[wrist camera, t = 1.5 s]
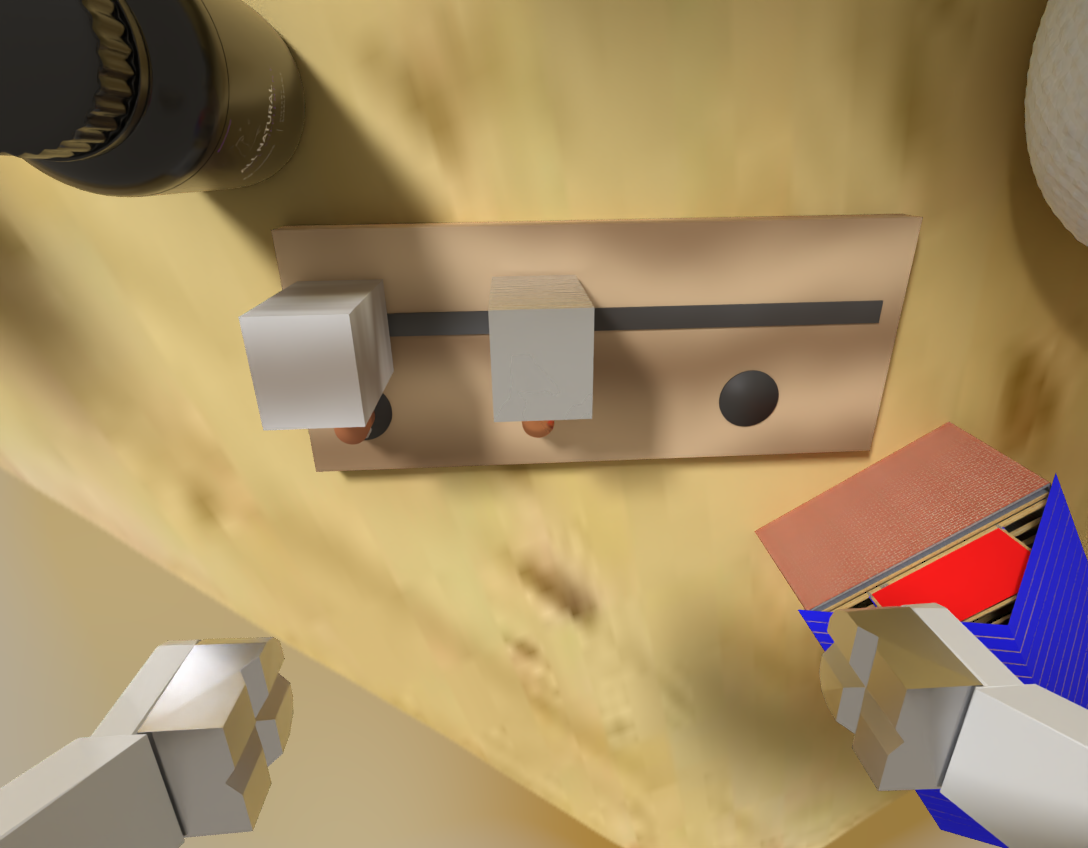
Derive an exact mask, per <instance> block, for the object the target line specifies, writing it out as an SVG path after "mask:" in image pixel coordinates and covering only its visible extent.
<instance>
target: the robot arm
mask: <svg viewBox="0 0 1088 848" xmlns="http://www.w3.org/2000/svg"><path fill="white" fill-rule="evenodd" d="M827 632H828V633H829V635H830V636H831V638H832V639H833V641H834V643H833V644H832V645H831V646H830V647H829V648H828V649H827V650H826V651H825V652H824V653H823V654H822V658H821V664H820V670H819V675H820V682H821V689H822V693H823V696H824V699H825V701H826V704H827V706H828V708H829V710H830V712H831V713H832V715H833V717H834V719H835V720H836V721H837V722H838V723H840V724H841V725H843V726H844V727H845V728H847V729H848V730H850V731H851V732H853V733H854V739H853V745H852V749H853V750H854V752H855V753H856V755H857V757H858V758H859V760H860V762H861V763H862V765H863V767H864V768H865V770H866V772H867V773H868V775H869V776H870V778H871V780H872V781H873V783H874V785H875V786H876V788H877V790H878V791H890V790H919V789H941V790H940V793H942V794H943V795H944V796H945V797H947V798H948V799H949V800H950V801H952V802H953V803H954V804H955V805H957V806H958V807H959V808H960V809H962V810H963V811H964V812H965V813H967V814H968V815H969V816H970V817H972V818H973V819H974V820H975V821H976V822H978V823H979V824H980V825H981V826H983V827H984V828H985V829H986V830H988V831H989V832H990V833H991V834H993V835H994V836H995V837H996V838H998V839H999V840H1000V841H1001V842H1003V843H1004V844H1005V845H1006V846H1008V847H1009V848H1088V710H1087V709H1085V708H1083V707H1081V706H1079V705H1077V704H1075V703H1073V702H1071V701H1069V700H1067V699H1065V698H1063V697H1061V696H1059V695H1057V694H1055V693H1053V692H1051V691H1049V690H1047V689H1044V688H1042V687H1040V686H1038V685H1036V684H1023V683H1022V682H1021V681H1020V680H1019V679H1018V678H1017V677H1016V676H1015V675H1014V674H1013V673H1012V672H1011V671H1010V670H1009V669H1008V668H1007V667H1006V666H1005V665H1004V664H1003V663H1002V662H1001V661H1000V660H999V659H998V658H997V657H996V656H995V655H994V654H993V653H992V652H991V651H990V650H989V649H988V648H987V647H986V646H985V645H984V644H983V643H982V642H980V641H979V640H978V639H977V638H976V637H975V636H974V635H973V634H972V633H971V632H970V631H969V630H968V629H967V628H966V627H965V626H964V625H963V624H962V623H961V622H960V621H959V620H958V619H957V618H956V617H955V616H954V615H953V614H952V613H951V612H950V611H949V610H948V609H947V608H945V607H944V606H941V605H939V604H937V603H924V604H910V605H902V606H889V607H871V608H853V609H836V610H835V611H834V613H833V614H832V615H831V617H830V620H829V624H828V628H827ZM284 659H285V658H284V655H283V651H282V647H281V643H280V641H279V640H278V639H276V638H274V637H261V638H223V639H203V640H173V641H166V642H165V643H163V644H161V645H159V646H158V647H157V648H156V649H155V650H154V652H153V653H152V654H151V656H150V657H149V658H148V660H147V661H146V662H145V664H144V665H143V666H142V668H141V669H140V670H139V672H138V673H137V674H136V676H135V677H134V679H133V680H132V681H131V682H130V684H129V685H128V687H127V688H126V689H125V691H124V692H123V693H122V695H121V696H120V697H119V699H118V700H117V701H116V703H115V704H114V705H113V707H112V708H111V709H110V711H109V712H108V713H107V715H106V716H105V718H104V719H103V720H102V722H101V723H100V724H99V726H98V727H97V728H96V730H95V731H94V732H93V734H92V735H91V736H90V737H85V738H77V739H75V740H74V741H73V742H71V743H69V744H68V745H66V746H64V747H63V748H61V749H60V750H58V751H57V752H55V753H54V754H52V755H51V756H49V757H48V758H46V759H44V760H43V761H41V762H40V763H38V764H37V765H35V766H34V767H32V768H31V769H29V770H27V771H26V772H24V773H23V774H21V775H20V776H18V777H17V778H15V779H14V780H12V781H10V782H9V783H8V784H6V785H4V786H3V787H1V788H0V848H179V847H180V846H181V845H182V844H183V843H184V838H185V837H196V836H206V835H216V834H228V833H238V832H248V831H253V829H254V827H255V824H256V822H257V819H258V816H259V814H260V811H261V809H262V806H263V804H264V801H265V799H266V796H267V794H268V791H269V788H270V786H271V779H270V775H269V771H268V766H269V765H270V764H272V762H274V761H275V760H276V759H277V758H278V757H279V756H280V755H281V754H283V752H284V749H285V746H286V744H287V741H288V738H289V735H290V730H291V724H292V718H293V694H292V690H291V685H290V682H288V681H287V680H286V679H285V678H284V677H283V676H281V675H280V674H279V670H280V668H281V666H282V663H283V661H284Z"/></svg>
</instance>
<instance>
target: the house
mask: <svg viewBox="0 0 1088 848" xmlns="http://www.w3.org/2000/svg"><path fill="white" fill-rule="evenodd" d="M986 528H987V530H985V531H983V532H981V533H979V532H980V531H982V530H984V529H986ZM755 532H756V534H757V535H758V537H759V539H760V540H761V542H762V543H763V545H764V546H765V548H766V549H767V551H768V553H769V554H770V556H771V557H772V559H773V560H774V562H775V563H776V565H777V567H778V568H779V570H780V571H781V573H782V574H783V576H784V577H785V579H786V581H787V582H788V584H789V585H790V587H791V588H792V590H793V591H794V593H795V595H796V596H797V598H798V599H799V601H800V602H801V604H802V605H803V607H804V609H805V610H798V611H799V612H800V614H801V615H802V617H803V618H804V620H805V621H806V623H807V625H808V626H809V628H810V629H811V631H812V632H813V634H814V635H815V637H816V638H817V640H818V641H819V643H820V645H821V646H822V648H823V649H824V651H826V650H827V649H828V648H829V647H830V646H831V645H832V644H833V643H834V641H833V639H832V638H831V636H830V635H829V633H828V632H827V628H828V624H829V620H830V617H831V615H832V614H833V613H834V611H835V610H836V609H849V608H851V607H853V606H854V605H856V604H858V603H860V602H862V601H864V600H866V599H868V598H870V599H871V601H872V602H873V604H872V605H870V606H868V607H866V608H871V607H889V606H902V605H910V604H924V603H937V604H939V605H941V606H944V607H945V608H947V609H948V610H949V611H950V612H951V613H952V614H953V615H954V616H955V617H956V618H957V619H958V620H959V621H960V622H961V623H962V624H963V625H964V626H965V627H966V628H967V629H968V630H969V631H970V632H971V633H972V634H973V635H974V636H975V637H976V638H977V639H978V640H979V641H980V642H982V643H983V644H984V645H985V646H986V647H987V648H988V649H989V650H990V651H991V652H992V653H993V654H994V655H995V656H996V657H997V658H998V659H999V660H1000V661H1001V662H1002V663H1003V664H1004V665H1005V666H1006V667H1007V668H1008V669H1009V670H1010V671H1011V672H1012V673H1013V674H1014V675H1015V676H1016V677H1017V678H1018V679H1019V680H1020V681H1021V682H1022V683H1023V684H1036V685H1038V686H1040V687H1042V688H1044V689H1047V690H1049V691H1051V692H1053V693H1055V694H1057V695H1059V696H1061V697H1063V698H1065V699H1067V700H1069V701H1071V702H1073V703H1075V704H1077V705H1079V706H1081V707H1083V708H1085V709H1087V710H1088V561H1087V558H1086V555H1085V553H1084V550H1083V547H1082V544H1081V542H1080V539H1079V536H1078V533H1077V530H1076V528H1075V525H1074V522H1073V519H1072V517H1071V514H1070V511H1069V508H1068V505H1067V503H1066V500H1065V497H1064V494H1063V492H1062V489H1061V486H1060V483H1059V480H1058V478H1057V475H1056V474H1055V477H1054V480H1053V483H1052V486H1051V484H1050V482H1048V481H1047V480H1045V479H1043V478H1042V477H1040V476H1038V475H1037V474H1035V473H1033V472H1032V471H1030V470H1028V469H1027V468H1025V467H1024V466H1022V465H1020V464H1019V463H1017V462H1015V461H1014V460H1012V459H1010V458H1009V457H1007V456H1005V455H1004V454H1002V453H1000V452H999V451H997V450H995V449H994V448H992V447H990V446H989V445H987V444H985V443H984V442H982V441H980V440H979V439H977V438H975V437H974V436H972V435H971V434H969V433H967V432H966V431H964V430H962V429H961V428H959V427H957V426H956V425H954V424H952V423H951V422H948V423H946V424H944V425H942V426H940V427H939V428H937V429H935V430H933V431H932V432H930V433H928V434H926V435H924V436H923V437H921V438H919V439H917V440H916V441H914V442H912V443H910V444H909V445H907V446H905V447H903V448H901V449H900V450H898V451H896V452H894V453H893V454H891V455H889V456H887V457H885V458H884V459H882V460H880V461H878V462H877V463H875V464H873V465H871V466H870V467H868V468H866V469H864V470H862V471H861V472H859V473H857V474H855V475H854V476H852V477H850V478H848V479H847V480H845V481H843V482H841V483H839V484H838V485H836V486H834V487H832V488H831V489H829V490H827V491H825V492H823V493H822V494H820V495H818V496H816V497H815V498H813V499H811V500H809V501H808V502H806V503H804V504H802V505H800V506H799V507H797V508H795V509H793V510H792V511H790V512H788V513H786V514H784V515H783V516H781V517H779V518H777V519H776V520H774V521H772V522H770V523H769V524H767V525H765V526H763V527H761V528H760V529H758V530H756V531H755ZM977 533H979V534H977ZM975 534H977V535H975ZM973 535H975V536H973ZM971 536H973V537H971ZM969 537H971V538H970V539H968V540H966V541H964V542H962V543H960V544H958V543H959V542H961V541H963V540H965V539H967V538H969ZM956 544H958V545H956ZM954 545H956V546H954ZM952 546H954V547H952ZM950 547H952V548H950ZM948 548H950V549H949V550H947V551H945V552H943V553H941V554H939V555H937V554H938V553H940V552H942V551H944V550H946V549H948ZM935 555H937V556H935ZM933 556H935V557H933ZM931 557H933V558H931ZM929 558H931V559H929ZM927 559H929V560H928V561H926V562H924V563H922V564H920V565H918V564H919V563H921V562H923V561H925V560H927ZM916 565H918V566H916ZM914 566H916V567H914ZM912 567H914V568H912ZM910 568H912V569H910ZM908 569H910V570H908ZM906 570H908V571H907V572H905V573H903V574H901V575H899V576H897V575H898V574H900V573H902V572H904V571H906ZM895 576H897V577H895ZM893 577H895V578H893ZM891 578H893V579H891ZM889 579H891V580H889ZM887 580H889V581H887ZM885 581H887V582H886V583H884V584H882V585H880V586H878V587H876V586H877V585H879V584H881V583H883V582H885ZM874 587H876V588H874ZM872 588H874V589H872ZM870 589H872V590H870ZM868 590H870V591H868ZM866 591H868V592H867V593H865V594H863V595H861V596H859V597H857V596H858V595H860V594H862V593H864V592H866ZM1014 595H1015V596H1014ZM1012 596H1013V597H1012ZM855 597H857V598H855ZM1010 597H1011V598H1010ZM853 598H855V599H853ZM1008 598H1009V599H1008ZM851 599H853V600H851ZM1006 599H1007V600H1006ZM849 600H851V601H849ZM1004 600H1005V601H1004ZM1015 600H1016V601H1015ZM847 601H849V602H847ZM1002 601H1003V602H1002ZM1013 601H1015V602H1013ZM845 602H847V603H846V604H844V605H842V606H840V607H838V608H836V607H837V606H839V605H841V604H843V603H845ZM1000 602H1001V603H1000ZM1010 602H1013V603H1011V604H1009V605H1007V606H1005V607H1003V608H1001V609H999V610H997V611H995V612H993V613H991V614H989V615H987V616H985V617H983V618H981V619H979V620H977V621H975V622H973V623H972V621H974V620H976V619H978V618H980V617H982V616H984V615H986V614H988V613H990V612H992V611H994V610H996V609H998V608H1000V607H1002V606H1004V605H1006V604H1008V603H1010ZM998 603H999V604H998ZM996 604H997V605H996ZM994 605H995V606H994ZM992 606H993V607H992ZM990 607H991V608H990ZM834 608H836V609H834ZM988 608H989V609H988ZM832 609H834V610H832ZM986 609H987V610H986ZM830 610H832V611H830ZM984 610H985V611H984ZM1011 610H1013V611H1012V613H1011V614H1009V615H1007V616H1005V617H1003V618H1001V619H999V620H997V621H995V622H993V623H991V624H985V623H987V622H989V621H991V620H993V619H995V618H997V617H999V616H1001V615H1003V614H1005V613H1007V612H1009V611H1011ZM828 611H830V612H828ZM982 611H983V612H982ZM980 612H981V613H980ZM978 613H979V614H978ZM976 614H977V615H976ZM974 615H975V616H974ZM972 616H973V617H972ZM970 617H971V618H970ZM968 618H969V619H968ZM966 619H967V620H966ZM964 620H965V621H964ZM962 621H963V622H962ZM940 790H941V789H919V790H915V791H916V792H917V794H918V795H919V797H920V798H921V800H922V801H923V803H924V805H925V806H926V808H927V809H928V811H929V812H930V814H931V815H932V817H933V818H934V820H935V822H936V823H937V825H938V826H939V828H940V829H941V830H944V831H947V832H951V833H955V834H958V835H961V836H965V837H968V838H971V839H975V840H978V841H982V842H985V843H989V844H992V845H996V846H999V847H1002V848H1009V847H1008V846H1006V845H1005V844H1004V843H1003V842H1001V841H1000V840H999V839H998V838H996V837H995V836H994V835H993V834H991V833H990V832H989V831H988V830H986V829H985V828H984V827H983V826H981V825H980V824H979V823H978V822H976V821H975V820H974V819H973V818H972V817H970V816H969V815H968V814H967V813H965V812H964V811H963V810H962V809H960V808H959V807H958V806H957V805H955V804H954V803H953V802H952V801H950V800H949V799H948V798H947V797H945V796H944V795H943V794H942V793H940Z"/></svg>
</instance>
